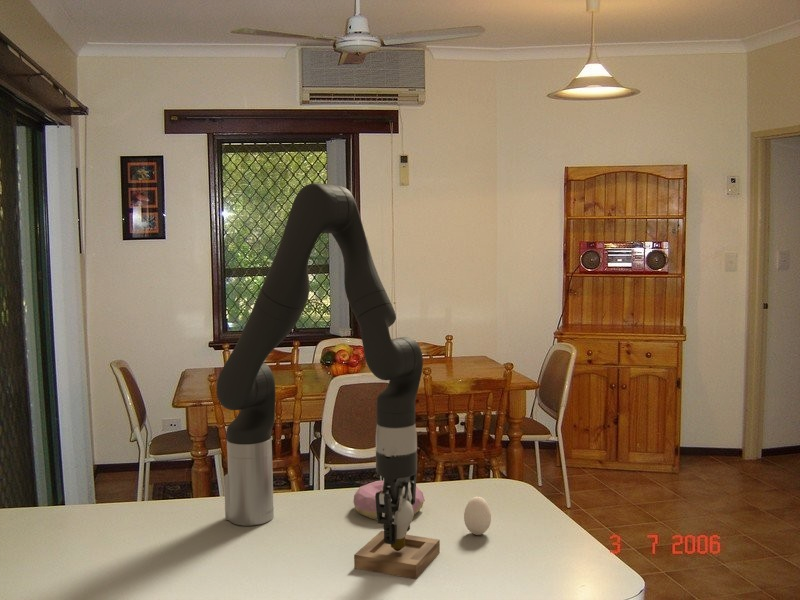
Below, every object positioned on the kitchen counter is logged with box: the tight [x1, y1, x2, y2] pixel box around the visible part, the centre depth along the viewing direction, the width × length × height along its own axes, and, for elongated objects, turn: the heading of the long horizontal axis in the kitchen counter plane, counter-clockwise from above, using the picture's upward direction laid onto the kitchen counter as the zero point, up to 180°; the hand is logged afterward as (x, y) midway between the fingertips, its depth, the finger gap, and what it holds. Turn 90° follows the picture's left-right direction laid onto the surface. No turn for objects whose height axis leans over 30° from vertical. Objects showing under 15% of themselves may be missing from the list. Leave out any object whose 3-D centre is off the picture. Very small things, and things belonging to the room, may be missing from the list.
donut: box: [353, 480, 426, 520], centre depth 173 cm, size 16×15×5 cm
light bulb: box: [382, 498, 415, 551], centre depth 147 cm, size 6×6×10 cm
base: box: [353, 530, 441, 580], centre depth 148 cm, size 12×12×2 cm
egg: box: [463, 496, 492, 536], centre depth 159 cm, size 5×5×8 cm
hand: (397, 536), depth 147 cm, fingers closed on light bulb, 5 cm apart
